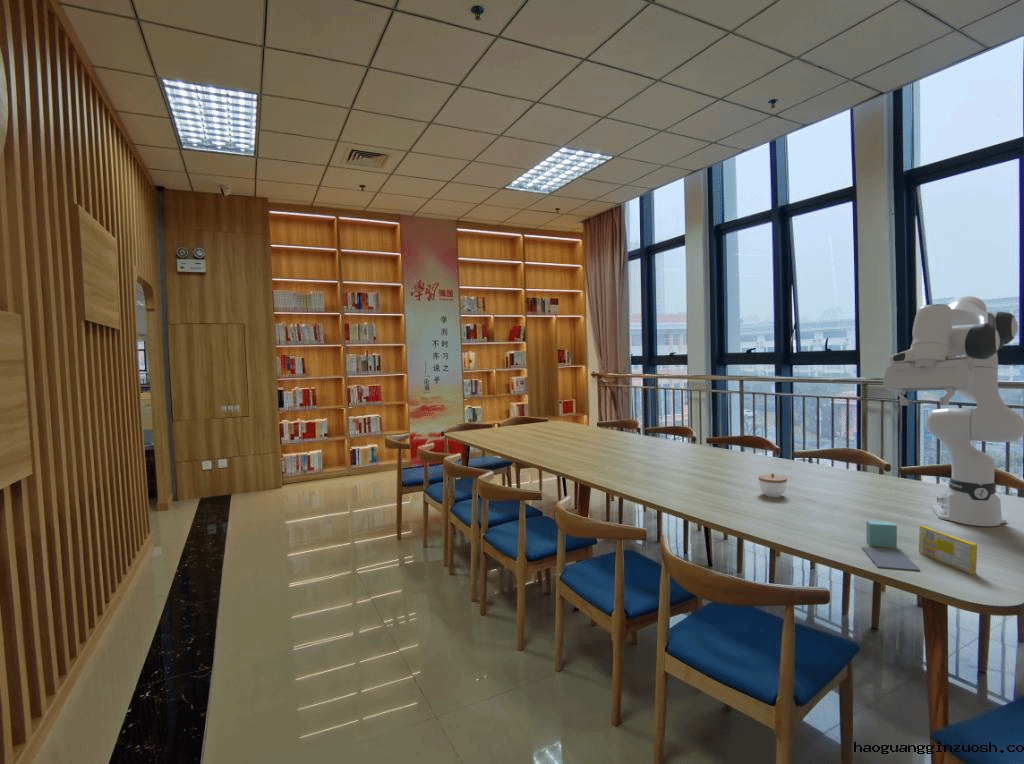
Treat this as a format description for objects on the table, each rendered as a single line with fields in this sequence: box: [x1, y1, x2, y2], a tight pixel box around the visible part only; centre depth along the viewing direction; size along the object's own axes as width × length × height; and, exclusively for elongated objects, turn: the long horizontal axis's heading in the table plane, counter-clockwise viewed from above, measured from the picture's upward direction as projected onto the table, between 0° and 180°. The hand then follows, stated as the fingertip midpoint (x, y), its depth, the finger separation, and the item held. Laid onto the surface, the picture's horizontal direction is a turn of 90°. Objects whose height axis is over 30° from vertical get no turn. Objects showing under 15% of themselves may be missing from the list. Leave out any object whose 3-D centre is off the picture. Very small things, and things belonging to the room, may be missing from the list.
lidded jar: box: [758, 472, 788, 498], centre depth 220 cm, size 11×11×9 cm
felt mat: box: [861, 546, 921, 572], centre depth 152 cm, size 15×10×1 cm, turn 161°
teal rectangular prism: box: [866, 519, 898, 549], centre depth 163 cm, size 4×7×7 cm, turn 71°
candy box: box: [918, 525, 978, 575], centre depth 149 cm, size 16×2×8 cm, turn 6°
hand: (923, 404), depth 144 cm, fingers open, 8 cm apart
